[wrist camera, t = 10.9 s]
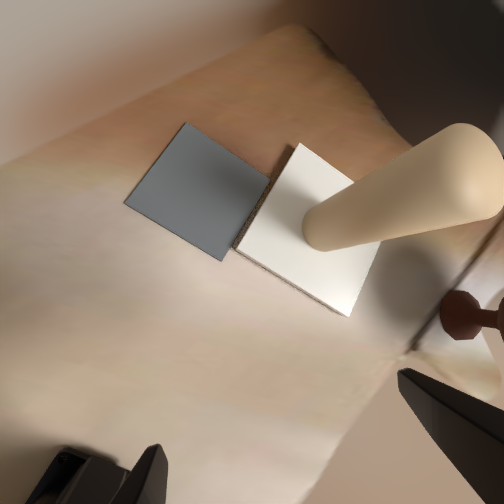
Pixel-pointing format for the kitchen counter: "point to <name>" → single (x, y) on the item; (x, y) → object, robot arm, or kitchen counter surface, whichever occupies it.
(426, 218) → the tan tapered rounded piece
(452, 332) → the ice cream bowl
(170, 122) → the kitchen counter surface
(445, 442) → the robot arm
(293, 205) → the cutting board
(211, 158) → the mat
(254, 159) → the kitchen counter surface
